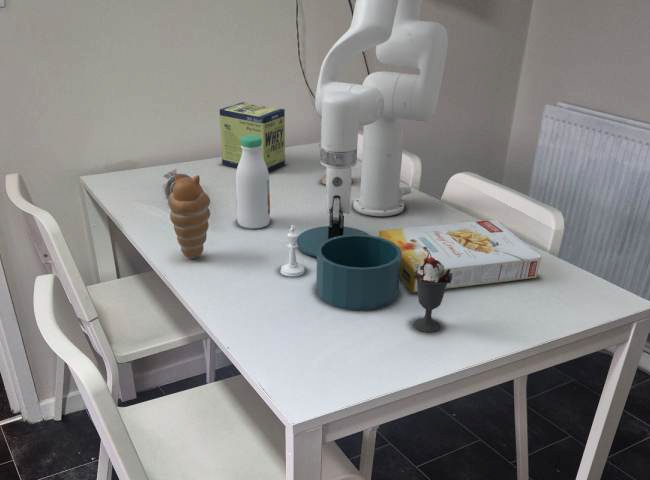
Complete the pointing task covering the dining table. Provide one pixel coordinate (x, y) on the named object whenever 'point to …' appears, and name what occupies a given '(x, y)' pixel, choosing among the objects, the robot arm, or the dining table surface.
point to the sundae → (430, 291)
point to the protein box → (253, 132)
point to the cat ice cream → (189, 214)
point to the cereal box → (465, 253)
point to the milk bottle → (252, 185)
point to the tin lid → (320, 238)
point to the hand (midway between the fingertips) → (335, 237)
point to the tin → (358, 272)
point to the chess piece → (292, 257)
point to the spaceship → (171, 182)
